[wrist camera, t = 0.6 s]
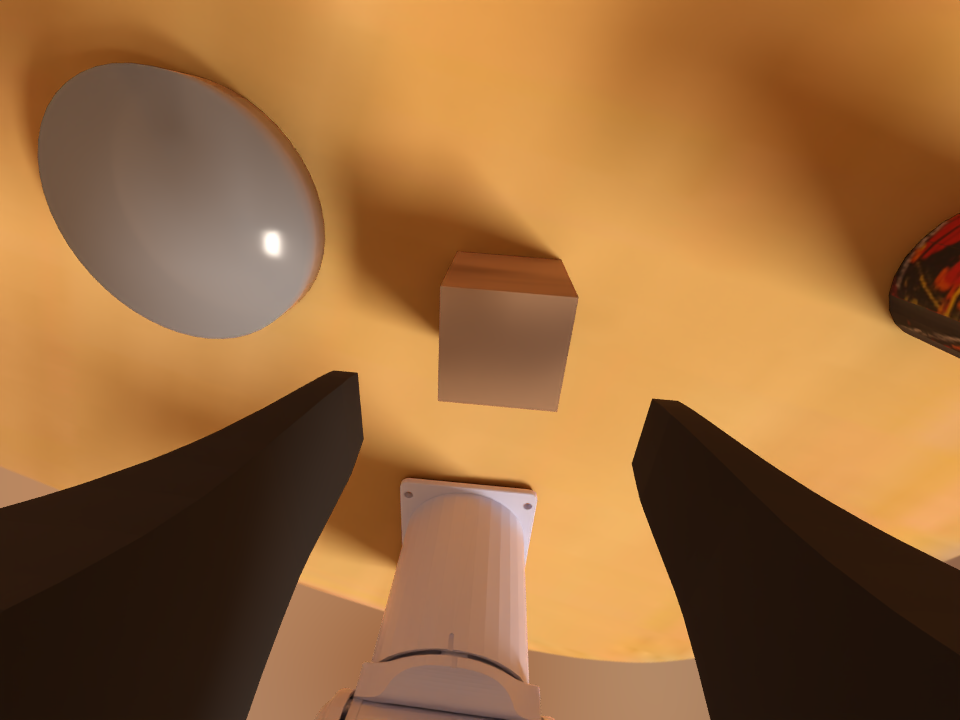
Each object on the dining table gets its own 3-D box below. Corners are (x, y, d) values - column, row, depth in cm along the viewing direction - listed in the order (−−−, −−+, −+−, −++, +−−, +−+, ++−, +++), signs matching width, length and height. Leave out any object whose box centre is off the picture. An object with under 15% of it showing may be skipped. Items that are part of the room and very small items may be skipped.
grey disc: (336, 329, 20) (319, 348, 18) (135, 312, 20) (98, 328, 18) (308, 82, 15) (281, 73, 13) (45, 63, 15) (-16, 52, 13)
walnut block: (546, 351, 20) (556, 411, 15) (453, 343, 20) (438, 400, 15) (561, 259, 17) (578, 297, 13) (457, 250, 18) (440, 286, 13)
